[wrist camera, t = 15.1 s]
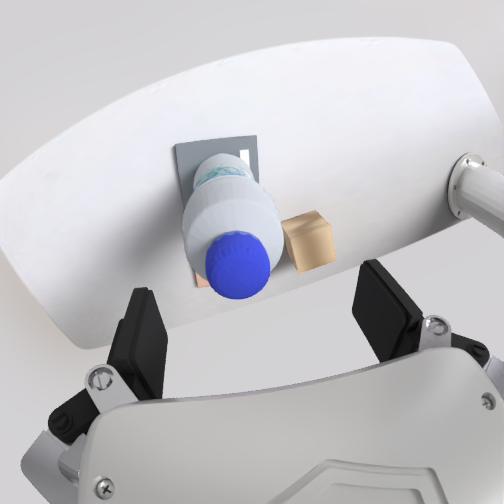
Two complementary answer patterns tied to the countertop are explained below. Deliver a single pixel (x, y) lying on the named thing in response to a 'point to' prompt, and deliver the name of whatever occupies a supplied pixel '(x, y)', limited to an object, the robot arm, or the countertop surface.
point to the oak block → (308, 241)
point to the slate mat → (200, 151)
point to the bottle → (231, 228)
